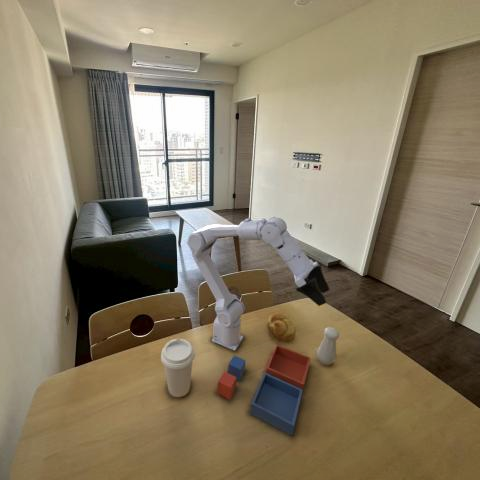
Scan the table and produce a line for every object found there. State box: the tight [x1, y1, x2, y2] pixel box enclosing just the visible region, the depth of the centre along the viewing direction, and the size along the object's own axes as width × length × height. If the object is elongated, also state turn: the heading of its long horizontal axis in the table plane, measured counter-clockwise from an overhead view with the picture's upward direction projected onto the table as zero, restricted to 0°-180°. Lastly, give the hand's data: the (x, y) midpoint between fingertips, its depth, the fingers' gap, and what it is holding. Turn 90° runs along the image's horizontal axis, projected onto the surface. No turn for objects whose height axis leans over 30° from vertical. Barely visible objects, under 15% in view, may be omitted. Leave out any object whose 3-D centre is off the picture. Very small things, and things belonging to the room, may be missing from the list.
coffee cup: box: [160, 338, 196, 398], centre depth 73 cm, size 10×10×15 cm
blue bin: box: [249, 372, 304, 437], centre depth 70 cm, size 11×11×4 cm
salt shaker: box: [316, 326, 340, 367], centre depth 83 cm, size 6×6×13 cm
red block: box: [217, 370, 237, 401], centre depth 74 cm, size 4×4×5 cm
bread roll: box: [267, 312, 296, 342], centre depth 96 cm, size 13×10×8 cm
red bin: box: [265, 344, 311, 393], centre depth 80 cm, size 11×11×4 cm
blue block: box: [227, 354, 246, 382], centre depth 79 cm, size 4×4×5 cm
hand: (324, 297), depth 68 cm, fingers open, 7 cm apart
